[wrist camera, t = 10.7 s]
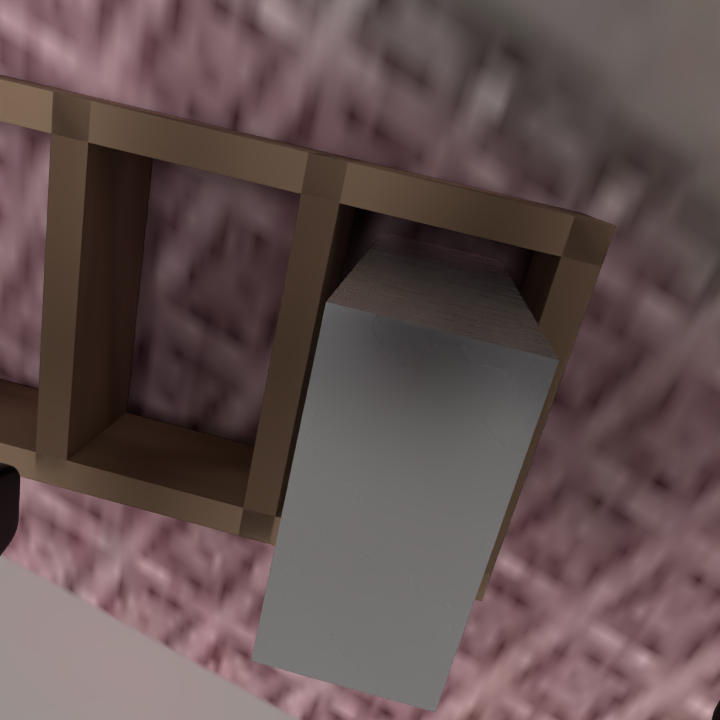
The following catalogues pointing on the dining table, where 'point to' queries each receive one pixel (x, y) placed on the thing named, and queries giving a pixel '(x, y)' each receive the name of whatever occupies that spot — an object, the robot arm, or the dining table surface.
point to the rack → (296, 316)
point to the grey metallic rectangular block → (402, 469)
